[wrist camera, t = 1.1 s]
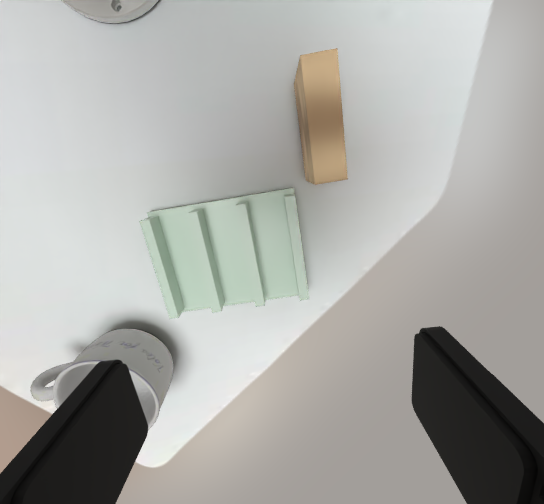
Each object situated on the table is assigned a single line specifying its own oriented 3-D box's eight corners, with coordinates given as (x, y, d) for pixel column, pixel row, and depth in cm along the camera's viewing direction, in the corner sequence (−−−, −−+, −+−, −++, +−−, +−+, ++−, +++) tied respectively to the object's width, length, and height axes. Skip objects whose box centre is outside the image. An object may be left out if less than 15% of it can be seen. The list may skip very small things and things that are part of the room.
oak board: (293, 84, 26) (300, 55, 19) (321, 79, 26) (337, 48, 19) (305, 180, 28) (315, 184, 22) (330, 176, 28) (347, 179, 22)
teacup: (189, 329, 34) (164, 376, 26) (174, 395, 37) (148, 454, 30) (77, 301, 33) (17, 341, 25) (71, 371, 36) (17, 426, 29)
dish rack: (151, 211, 30) (136, 216, 26) (293, 187, 29) (295, 190, 26) (179, 308, 33) (170, 322, 30) (307, 290, 32) (310, 303, 29)
